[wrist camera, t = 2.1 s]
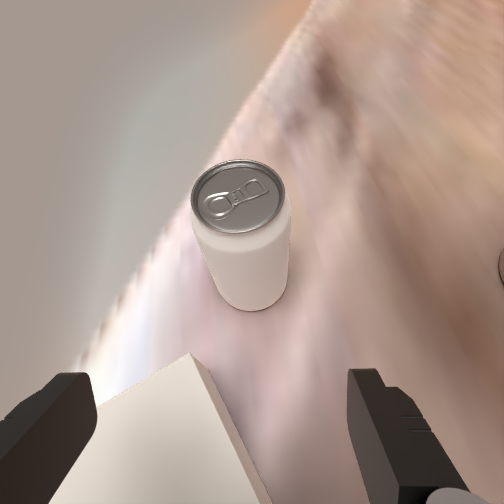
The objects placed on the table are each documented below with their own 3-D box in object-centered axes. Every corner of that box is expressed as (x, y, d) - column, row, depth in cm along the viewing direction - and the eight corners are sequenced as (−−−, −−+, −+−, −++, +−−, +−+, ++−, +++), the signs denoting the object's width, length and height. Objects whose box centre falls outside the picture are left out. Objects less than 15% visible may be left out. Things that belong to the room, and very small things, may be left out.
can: (205, 269, 30) (166, 181, 20) (263, 238, 31) (256, 140, 21) (238, 326, 27) (213, 259, 17) (301, 289, 28) (315, 205, 18)
